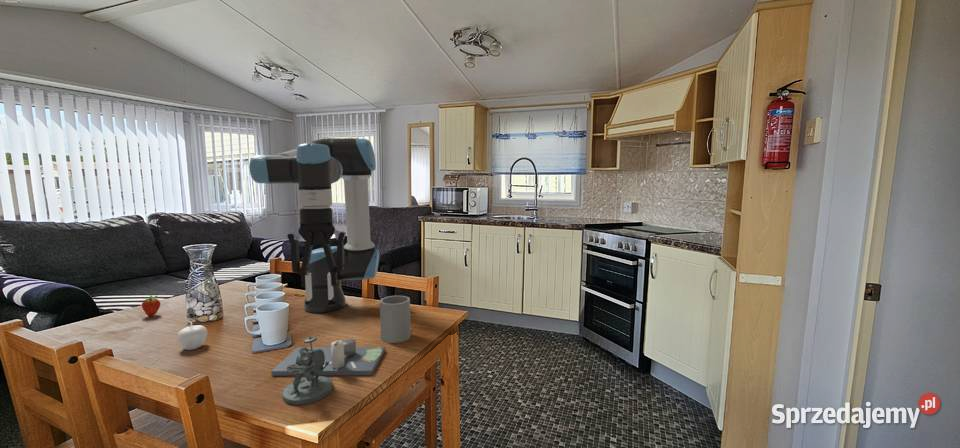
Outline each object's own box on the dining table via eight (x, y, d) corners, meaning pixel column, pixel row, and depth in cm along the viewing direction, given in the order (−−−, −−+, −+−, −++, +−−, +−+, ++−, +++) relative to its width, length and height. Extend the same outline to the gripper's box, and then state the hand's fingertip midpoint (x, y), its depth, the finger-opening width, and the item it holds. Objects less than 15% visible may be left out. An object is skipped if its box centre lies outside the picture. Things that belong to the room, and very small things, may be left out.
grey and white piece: (342, 350, 106) (341, 328, 105) (358, 350, 106) (357, 328, 105) (327, 368, 95) (326, 344, 94) (344, 368, 95) (343, 344, 94)
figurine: (271, 402, 83) (268, 350, 82) (301, 378, 94) (299, 331, 92) (316, 407, 81) (313, 353, 80) (341, 381, 92) (339, 334, 91)
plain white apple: (174, 354, 107) (172, 327, 106) (183, 344, 113) (181, 318, 112) (204, 350, 109) (202, 323, 108) (211, 340, 116) (209, 315, 115)
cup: (376, 342, 115) (375, 303, 114) (387, 330, 124) (386, 295, 123) (405, 343, 114) (404, 305, 112) (414, 332, 123) (413, 296, 121)
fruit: (139, 317, 136) (137, 295, 136) (156, 312, 141) (154, 292, 140) (148, 319, 134) (146, 297, 134) (165, 314, 139) (163, 293, 138)
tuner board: (297, 351, 109) (297, 346, 108) (385, 350, 109) (384, 346, 109) (271, 375, 95) (271, 370, 94) (371, 375, 95) (371, 370, 95)
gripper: (272, 208, 89) (278, 305, 91) (350, 207, 92) (354, 301, 94) (282, 206, 96) (287, 296, 98) (355, 206, 99) (358, 292, 102)
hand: (320, 298), depth 96 cm, fingers open, 4 cm apart
